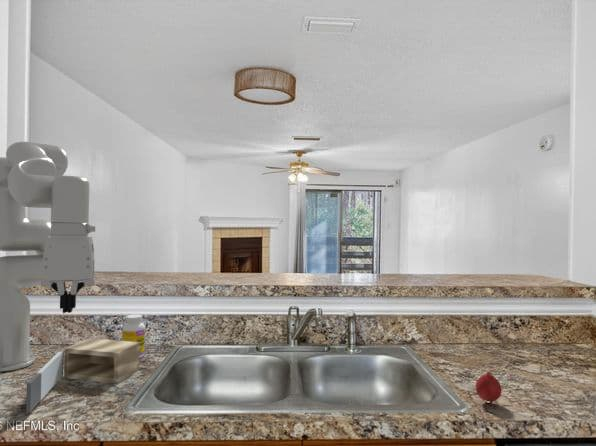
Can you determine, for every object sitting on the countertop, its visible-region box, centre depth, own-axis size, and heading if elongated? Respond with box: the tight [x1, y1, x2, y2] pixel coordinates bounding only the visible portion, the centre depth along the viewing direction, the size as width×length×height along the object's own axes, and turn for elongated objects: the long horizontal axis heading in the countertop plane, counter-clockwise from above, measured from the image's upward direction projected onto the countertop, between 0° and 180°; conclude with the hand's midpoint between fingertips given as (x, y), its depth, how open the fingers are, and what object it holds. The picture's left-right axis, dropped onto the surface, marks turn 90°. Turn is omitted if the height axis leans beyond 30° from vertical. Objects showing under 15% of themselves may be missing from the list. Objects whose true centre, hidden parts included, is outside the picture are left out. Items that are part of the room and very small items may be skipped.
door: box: [25, 350, 65, 414], centre depth 101 cm, size 23×1×6 cm, turn 14°
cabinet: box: [63, 337, 140, 384], centre depth 115 cm, size 16×10×8 cm, turn 80°
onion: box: [475, 371, 502, 403], centre depth 102 cm, size 6×6×8 cm
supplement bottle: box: [121, 313, 146, 359], centre depth 130 cm, size 7×7×13 cm
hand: (67, 311), depth 94 cm, fingers closed
